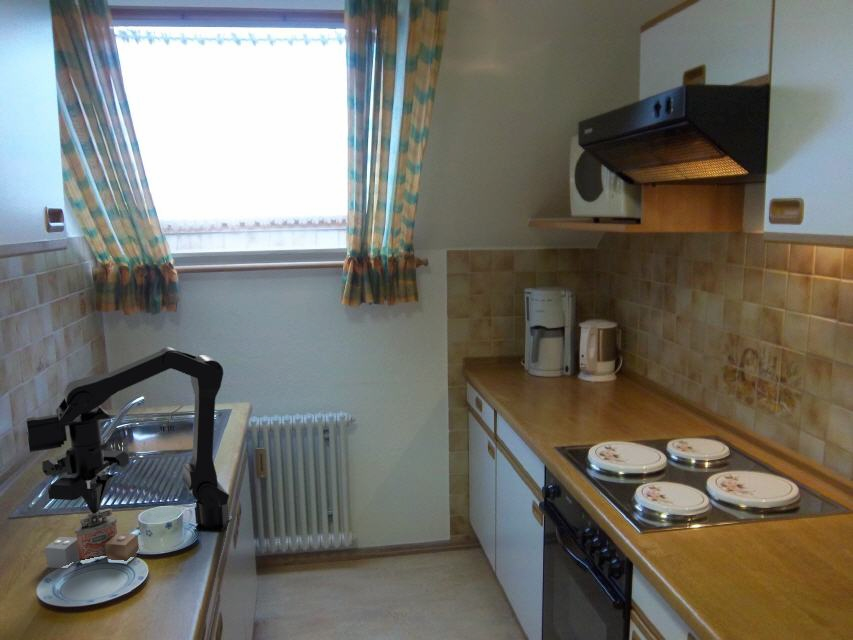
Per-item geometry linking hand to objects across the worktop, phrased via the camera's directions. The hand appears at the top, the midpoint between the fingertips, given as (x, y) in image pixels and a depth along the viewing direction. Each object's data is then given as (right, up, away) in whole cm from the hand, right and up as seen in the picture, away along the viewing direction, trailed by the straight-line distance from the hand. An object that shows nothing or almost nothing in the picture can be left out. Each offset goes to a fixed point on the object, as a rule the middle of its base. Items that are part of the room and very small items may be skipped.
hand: (95, 512), depth 142 cm
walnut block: (+6, -10, +1) cm, 12 cm away
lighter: (0, -10, +2) cm, 10 cm away
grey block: (-6, -11, 0) cm, 12 cm away
